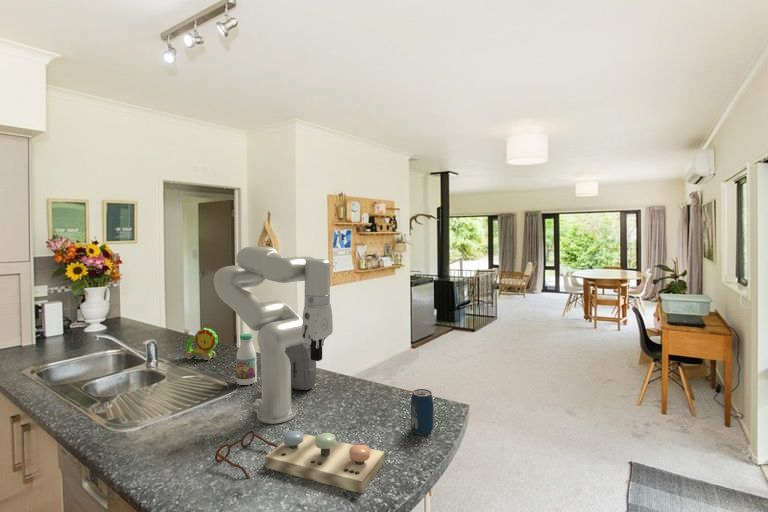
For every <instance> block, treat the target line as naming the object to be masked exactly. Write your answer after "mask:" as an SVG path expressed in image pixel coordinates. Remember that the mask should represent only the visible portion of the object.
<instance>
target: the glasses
mask: <svg viewBox="0 0 768 512" xmlns="http://www.w3.org/2000/svg"><path fill="white" fill-rule="evenodd" d="M249 434H251V439H250V441H249V442H248V443H247V444H245V445H244V440H245V438H246V436H248V435H249ZM255 438H257V439H258V440H260V441H262V442H263V443H265V444H266V445H269V446H272V447H274V448H276V447H278V446H279V445H278V444H276V443H274V442H270V441H269V440H267V439H265V438H264V437H261V436H260V435H259V434H257V433H255V431H253V430H248V431H247V432H245V433H244V434H243V435H242V437H241V439H237V440H235V441H234V442H232V443H231V444H229V443H224V444H222V445H221V446H219V448H218V449H217V450H216V452H215V455H214V461H215V462H217V463H221V462H222V461H224V462H226V463H227V464H228V465H230V466H232V467H234V468H238V469H240V470H241V471H242V472H243V474H244V475H245V477H246V478H247V479H251V477H250V475H249V474H248V472H247V470H246V469H245V468H244V467H243V466H242V465H240V464H238V463H234V462H232V461H231V460H230V459H228V456H229V455H230V452H231V448H232V447H234V446H236V445H237V444H238V443H240V447H241V448H243V449H245V448H247V447H249V446H250V445H251V444H252V443H253V441H254V439H255ZM225 447H227V452H226V453H225V455H224V456H223V455H222V454H221V453H220V451H221V450H222V449H223V448H225ZM218 457H219V458H220V459H219V458H218Z"/></svg>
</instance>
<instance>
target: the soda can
mask: <svg viewBox="0 0 768 512" xmlns="http://www.w3.org/2000/svg"><path fill="white" fill-rule="evenodd" d="M410 427H411V429H412V431H413V432H414V433H415V434H417V435H419V436H420V435H421V436H422V435H423V436H424V435H429V434H430V433H431V432H432V431H433V430H434V429H433V428H434V396H433V394H432V391H431V390H429V389H427V388H426V389H425V388H417V389H415V390H413V391H412V395H411V397H410Z"/></svg>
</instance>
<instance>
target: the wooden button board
mask: <svg viewBox="0 0 768 512" xmlns="http://www.w3.org/2000/svg"><path fill="white" fill-rule="evenodd" d="M316 436H317V435H316ZM316 436H315V435H311V434H307V433H306V434H305V433H303V442H302V443H300V444H298V445H294V446H289V445H286V444H284V441H283V442H282V443H281V444H279V445H278V447H274V449H273V450H271V451H270V452H268V453H267V454H266V455H265V456H264V467H265V468H266V469H270V470H272V471H273V470H274V471H277V472H280V473H284V474H287V475H291V476H296V477H298V478H301V479H306V480H310V481H313V482H317V483H322V484H325V485H329V486H331V485H332V487H336V488H338V489H343V490H346V491H350V492H354V493H357V492H358V494H361V493H362V494H363V493H364V492H365V490H366V489H367V488H368V486H369V485H370V484H369V483H371V482H372V481H373V479H374V478H375V477H376V475H377V474H378V473H377V472H380V470H381V468H383V466H384V464H385V461H386V459H385V458H386V457H385V456H386V454H385V451H384V450H379V449H375V448H370V457H369V459H368V460H366V461H363V462H356V461H353V460H351V459H350V457H349V450H350V448H351V447H352V446H355V445H356V444H351V443H347V442H342V441H339V440H338V441H337V440H335V445H334V446H333V447H331V448H328V449H320V448H317V447H316V445H315V438H316ZM382 465H383V466H382ZM379 469H380V470H379ZM374 476H375V477H374ZM371 480H372V481H371Z"/></svg>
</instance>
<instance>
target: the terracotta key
mask: <svg viewBox="0 0 768 512" xmlns="http://www.w3.org/2000/svg"><path fill="white" fill-rule="evenodd" d="M354 445H355V446H352V447H351V448H350V450H349V457H350V459H351V460H353V461H356V462H363V461H366V460H368V459H369V457H370V449H371V448H370V447H369V446H368V445H364V444H354Z"/></svg>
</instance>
